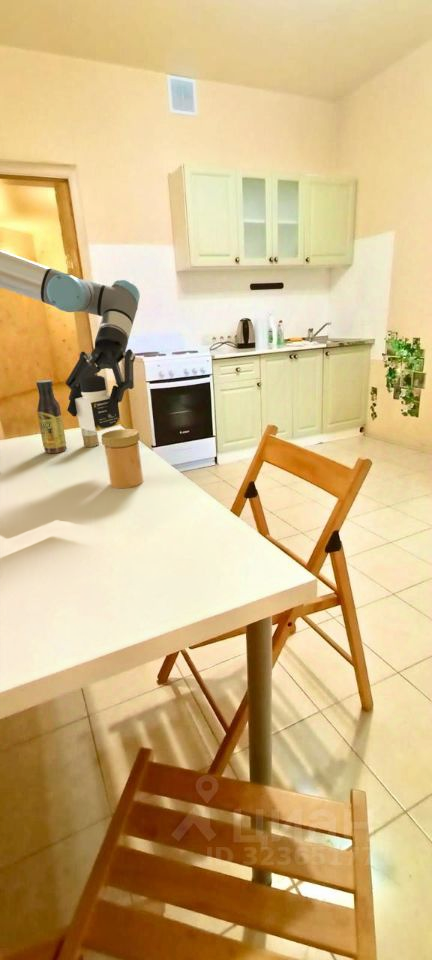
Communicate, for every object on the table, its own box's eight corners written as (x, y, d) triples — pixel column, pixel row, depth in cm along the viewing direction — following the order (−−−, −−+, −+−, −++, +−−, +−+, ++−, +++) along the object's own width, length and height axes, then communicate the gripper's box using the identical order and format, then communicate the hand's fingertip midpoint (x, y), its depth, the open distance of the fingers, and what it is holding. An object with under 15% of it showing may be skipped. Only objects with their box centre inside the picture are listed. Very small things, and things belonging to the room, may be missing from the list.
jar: (103, 486, 99) (96, 440, 95) (125, 475, 104) (118, 431, 101) (129, 490, 95) (122, 442, 91) (149, 478, 101) (144, 433, 97)
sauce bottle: (40, 452, 127) (25, 382, 120) (58, 446, 132) (45, 378, 125) (54, 455, 124) (39, 383, 117) (72, 449, 129) (59, 379, 122)
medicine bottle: (96, 432, 102) (87, 378, 97) (79, 428, 106) (70, 377, 102) (121, 425, 106) (114, 374, 102) (104, 422, 111) (96, 373, 107)
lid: (146, 438, 98) (145, 430, 97) (122, 448, 91) (121, 439, 91) (119, 435, 102) (118, 427, 101) (94, 445, 95) (93, 436, 95)
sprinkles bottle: (81, 445, 132) (73, 399, 127) (96, 442, 134) (89, 397, 130) (86, 448, 129) (78, 401, 124) (101, 445, 131) (94, 399, 126)
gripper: (159, 343, 111) (141, 421, 102) (81, 348, 117) (58, 421, 108) (148, 322, 104) (128, 403, 96) (66, 327, 110) (40, 404, 102)
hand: (90, 413), depth 102 cm, fingers closed on medicine bottle, 9 cm apart
